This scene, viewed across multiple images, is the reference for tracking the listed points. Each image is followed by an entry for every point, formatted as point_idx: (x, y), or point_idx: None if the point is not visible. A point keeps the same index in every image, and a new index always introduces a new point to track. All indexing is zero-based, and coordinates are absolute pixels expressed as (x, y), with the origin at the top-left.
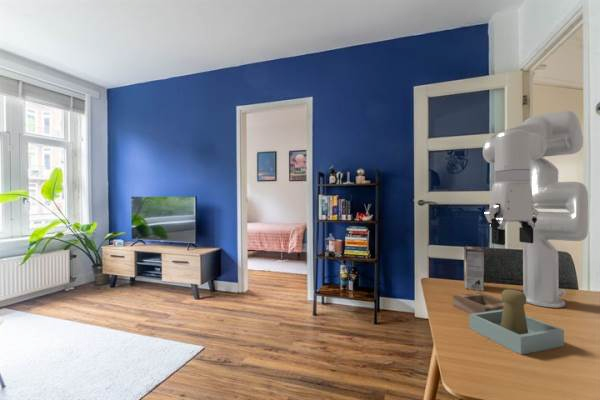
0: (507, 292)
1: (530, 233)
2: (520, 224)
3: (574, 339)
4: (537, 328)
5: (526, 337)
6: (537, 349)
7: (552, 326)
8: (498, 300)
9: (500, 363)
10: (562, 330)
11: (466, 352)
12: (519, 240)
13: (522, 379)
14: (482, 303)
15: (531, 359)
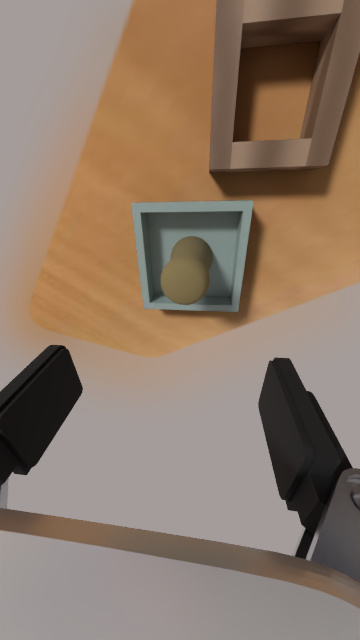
0: (164, 284)
1: (272, 459)
2: (329, 502)
3: (279, 291)
4: (233, 272)
5: (155, 308)
6: None
7: (234, 299)
8: (324, 110)
9: (107, 303)
10: (234, 311)
11: (80, 271)
12: (271, 362)
13: (107, 329)
14: (323, 41)
15: None
